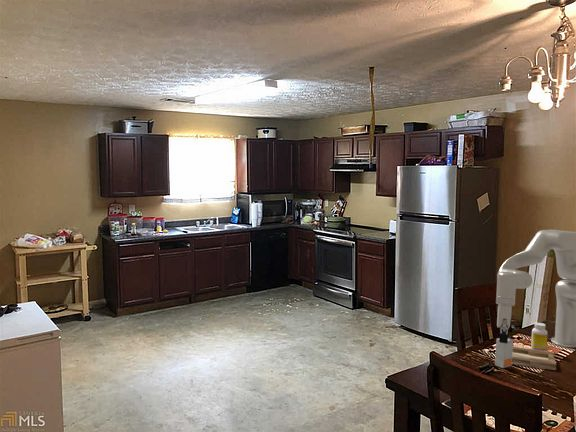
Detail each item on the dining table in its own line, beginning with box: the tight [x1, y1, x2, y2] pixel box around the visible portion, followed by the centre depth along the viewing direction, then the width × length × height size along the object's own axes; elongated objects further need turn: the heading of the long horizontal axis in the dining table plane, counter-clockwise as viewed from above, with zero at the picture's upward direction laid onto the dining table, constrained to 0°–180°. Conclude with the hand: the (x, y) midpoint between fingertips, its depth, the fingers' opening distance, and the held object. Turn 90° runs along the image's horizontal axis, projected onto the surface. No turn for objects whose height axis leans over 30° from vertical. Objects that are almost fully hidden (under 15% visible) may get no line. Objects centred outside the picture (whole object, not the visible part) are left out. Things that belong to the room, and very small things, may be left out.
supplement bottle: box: [530, 322, 548, 351], centre depth 231 cm, size 7×7×13 cm
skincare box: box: [494, 337, 514, 369], centre depth 212 cm, size 6×4×12 cm
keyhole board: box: [512, 346, 557, 371], centre depth 219 cm, size 16×20×2 cm
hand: (503, 339), depth 211 cm, fingers open, 9 cm apart
